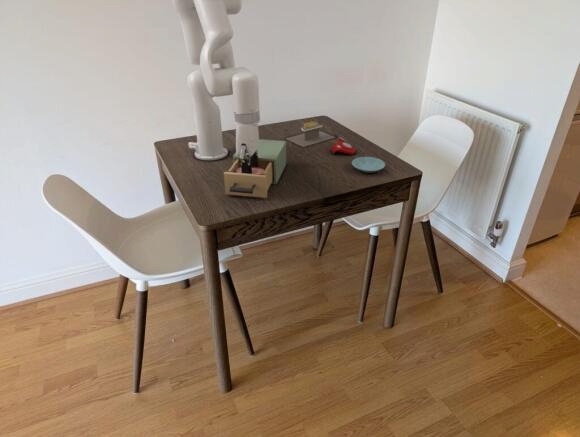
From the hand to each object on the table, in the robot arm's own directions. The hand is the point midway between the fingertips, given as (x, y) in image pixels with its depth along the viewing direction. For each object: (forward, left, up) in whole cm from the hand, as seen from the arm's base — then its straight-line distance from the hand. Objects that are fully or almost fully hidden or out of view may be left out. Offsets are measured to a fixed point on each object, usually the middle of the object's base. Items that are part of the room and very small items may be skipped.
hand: (250, 170), depth 136 cm
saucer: (+37, +24, -7) cm, 44 cm away
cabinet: (0, +14, -7) cm, 15 cm away
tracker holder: (+27, +40, -7) cm, 48 cm away
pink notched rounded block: (0, 0, -5) cm, 5 cm away
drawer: (0, -1, -6) cm, 6 cm away
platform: (+12, +51, -7) cm, 52 cm away
